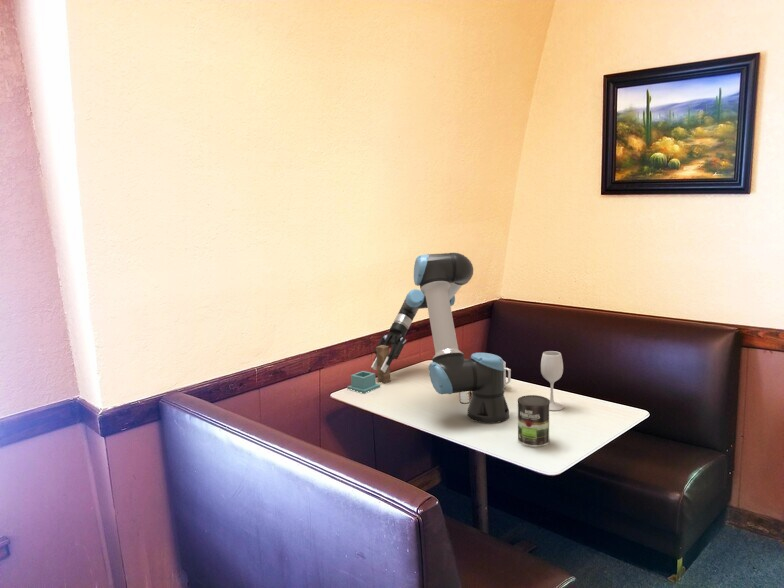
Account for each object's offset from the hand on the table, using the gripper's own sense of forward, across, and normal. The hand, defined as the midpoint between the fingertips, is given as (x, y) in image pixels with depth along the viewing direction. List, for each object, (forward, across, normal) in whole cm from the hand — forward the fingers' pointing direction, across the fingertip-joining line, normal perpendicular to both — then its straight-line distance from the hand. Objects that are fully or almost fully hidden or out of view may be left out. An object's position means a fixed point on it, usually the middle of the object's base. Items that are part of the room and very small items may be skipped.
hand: (378, 369), depth 264 cm
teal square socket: (+10, +1, +1) cm, 11 cm away
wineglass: (-7, -74, -16) cm, 76 cm away
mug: (-12, -47, -21) cm, 53 cm away
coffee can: (+16, -84, +6) cm, 85 cm away
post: (+2, 0, -7) cm, 7 cm away
